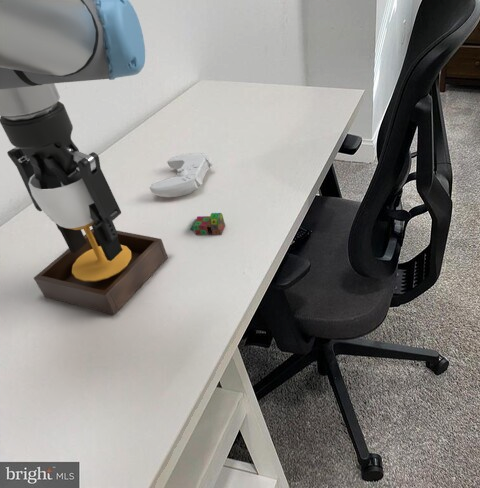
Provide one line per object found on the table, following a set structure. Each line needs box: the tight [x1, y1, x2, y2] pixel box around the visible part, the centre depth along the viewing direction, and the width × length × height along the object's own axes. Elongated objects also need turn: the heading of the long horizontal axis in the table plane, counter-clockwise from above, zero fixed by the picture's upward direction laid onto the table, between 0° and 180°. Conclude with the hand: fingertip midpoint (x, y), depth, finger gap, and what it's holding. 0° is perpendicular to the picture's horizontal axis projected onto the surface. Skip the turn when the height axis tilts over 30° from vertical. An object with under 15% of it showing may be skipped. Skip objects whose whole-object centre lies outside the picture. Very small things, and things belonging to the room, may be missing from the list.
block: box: [190, 212, 226, 236], centre depth 85 cm, size 6×4×3 cm
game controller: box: [149, 152, 214, 198], centre depth 99 cm, size 14×4×10 cm
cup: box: [28, 170, 131, 282], centre depth 71 cm, size 9×9×16 cm
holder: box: [33, 228, 169, 316], centre depth 76 cm, size 14×14×4 cm
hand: (96, 251), depth 74 cm, fingers closed on cup, 6 cm apart
